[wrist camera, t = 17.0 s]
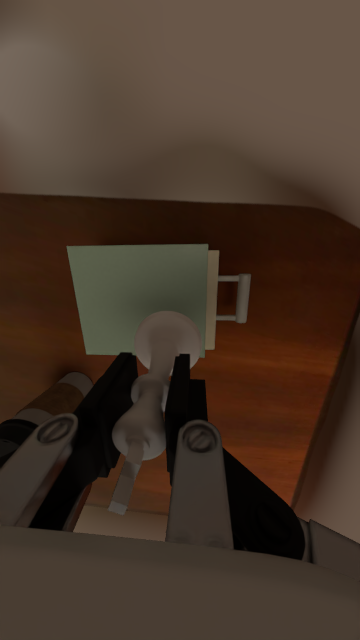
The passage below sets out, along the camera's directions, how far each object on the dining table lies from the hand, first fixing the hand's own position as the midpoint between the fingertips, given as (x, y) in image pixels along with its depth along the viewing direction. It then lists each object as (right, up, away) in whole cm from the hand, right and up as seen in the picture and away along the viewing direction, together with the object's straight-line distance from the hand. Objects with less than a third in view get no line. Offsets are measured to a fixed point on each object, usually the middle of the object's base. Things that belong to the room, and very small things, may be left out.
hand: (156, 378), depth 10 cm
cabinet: (-3, +8, +21) cm, 22 cm away
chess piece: (0, +1, +5) cm, 5 cm away
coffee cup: (-18, -9, +28) cm, 35 cm away
